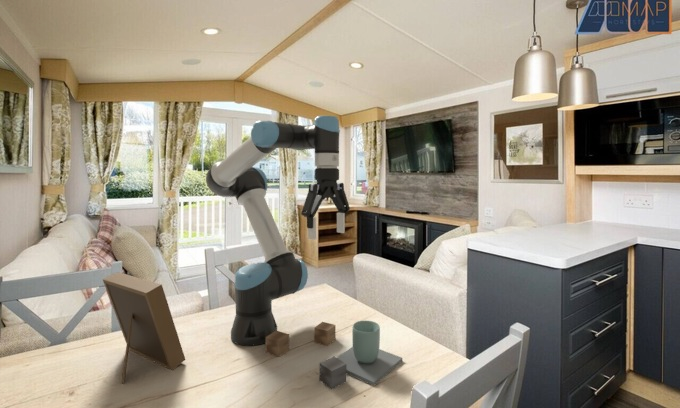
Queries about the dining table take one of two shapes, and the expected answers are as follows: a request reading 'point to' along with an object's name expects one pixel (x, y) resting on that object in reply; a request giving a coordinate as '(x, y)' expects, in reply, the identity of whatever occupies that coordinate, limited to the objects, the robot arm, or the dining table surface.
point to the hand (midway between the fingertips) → (327, 235)
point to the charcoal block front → (333, 372)
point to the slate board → (370, 366)
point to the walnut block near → (277, 343)
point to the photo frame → (144, 319)
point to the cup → (366, 341)
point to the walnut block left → (324, 333)
